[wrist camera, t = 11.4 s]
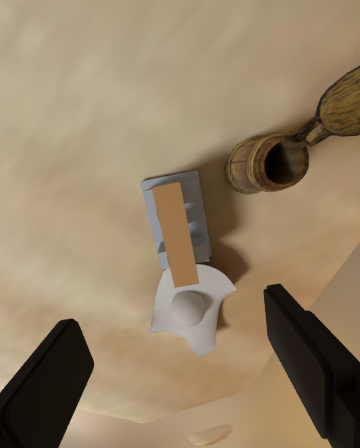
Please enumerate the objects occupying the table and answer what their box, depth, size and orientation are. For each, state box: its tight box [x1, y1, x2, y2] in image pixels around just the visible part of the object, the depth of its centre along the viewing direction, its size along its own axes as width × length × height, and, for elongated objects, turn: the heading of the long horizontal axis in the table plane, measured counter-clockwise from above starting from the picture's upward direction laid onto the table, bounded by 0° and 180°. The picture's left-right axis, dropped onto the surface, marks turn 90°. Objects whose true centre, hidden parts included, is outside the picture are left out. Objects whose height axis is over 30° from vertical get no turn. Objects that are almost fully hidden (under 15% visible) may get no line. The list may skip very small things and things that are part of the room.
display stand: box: [140, 170, 212, 270], centre depth 32 cm, size 16×10×6 cm, turn 11°
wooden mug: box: [225, 66, 360, 194], centre depth 24 cm, size 9×14×18 cm, turn 140°
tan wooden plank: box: [152, 181, 199, 288], centre depth 27 cm, size 14×4×5 cm, turn 11°
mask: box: [149, 264, 237, 356], centre depth 36 cm, size 20×8×15 cm
